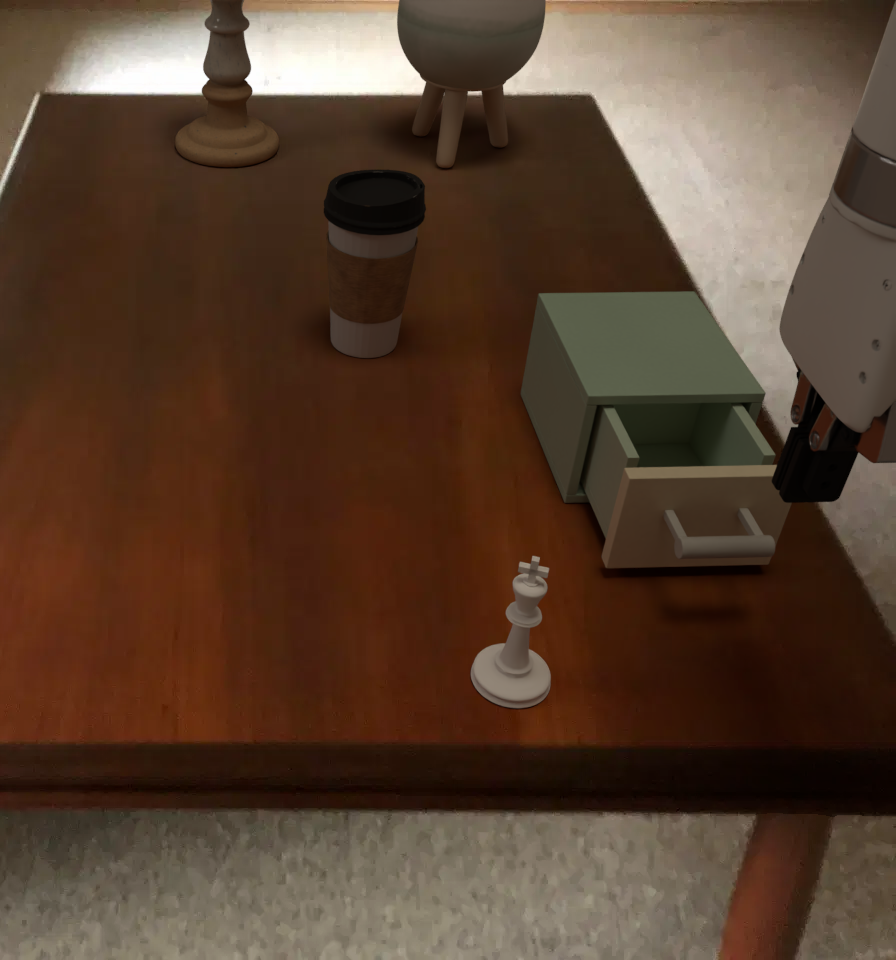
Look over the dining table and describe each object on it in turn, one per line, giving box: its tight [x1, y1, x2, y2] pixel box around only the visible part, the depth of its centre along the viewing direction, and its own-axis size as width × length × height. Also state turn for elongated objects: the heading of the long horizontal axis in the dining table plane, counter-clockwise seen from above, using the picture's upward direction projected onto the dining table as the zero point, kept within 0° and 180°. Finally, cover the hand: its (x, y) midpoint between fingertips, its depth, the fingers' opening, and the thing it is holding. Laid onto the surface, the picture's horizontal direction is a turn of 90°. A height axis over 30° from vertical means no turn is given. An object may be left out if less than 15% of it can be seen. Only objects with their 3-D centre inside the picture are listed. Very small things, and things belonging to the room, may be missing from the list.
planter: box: [396, 0, 547, 169], centre depth 133 cm, size 16×16×22 cm
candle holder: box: [174, 0, 280, 168], centre depth 134 cm, size 12×12×20 cm
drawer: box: [580, 402, 793, 569], centre depth 82 cm, size 18×11×8 cm, turn 3°
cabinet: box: [520, 291, 767, 504], centre depth 91 cm, size 15×13×10 cm
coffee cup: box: [323, 169, 427, 359], centre depth 101 cm, size 8×8×15 cm
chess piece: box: [470, 555, 552, 709], centre depth 71 cm, size 5×5×10 cm
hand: (803, 492), depth 65 cm, fingers closed
